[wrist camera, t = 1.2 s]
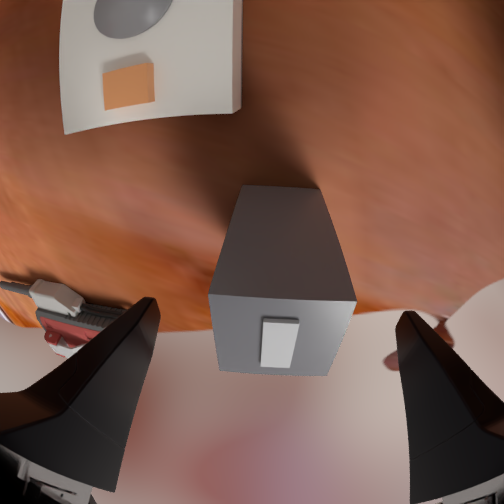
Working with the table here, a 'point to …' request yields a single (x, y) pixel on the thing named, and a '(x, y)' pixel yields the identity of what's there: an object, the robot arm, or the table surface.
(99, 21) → the power strip
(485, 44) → the table surface
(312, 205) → the grey rectangular block
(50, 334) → the walkie-talkie
